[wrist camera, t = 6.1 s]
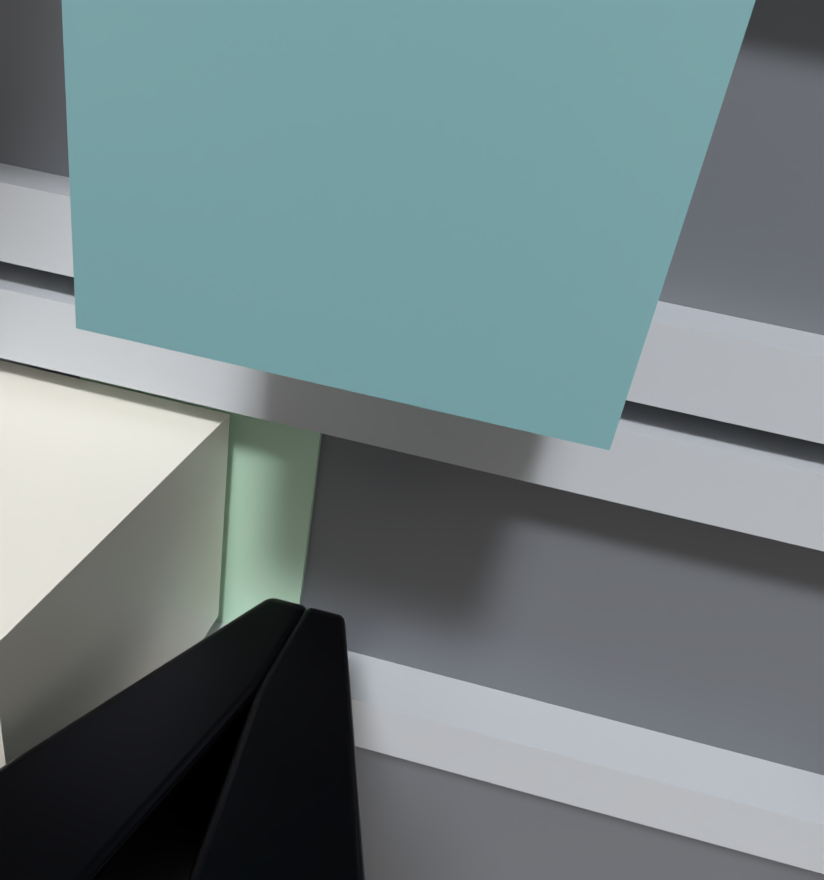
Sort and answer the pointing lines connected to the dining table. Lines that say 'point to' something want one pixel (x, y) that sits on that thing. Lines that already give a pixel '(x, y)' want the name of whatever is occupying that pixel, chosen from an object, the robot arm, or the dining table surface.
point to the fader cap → (100, 543)
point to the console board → (569, 544)
